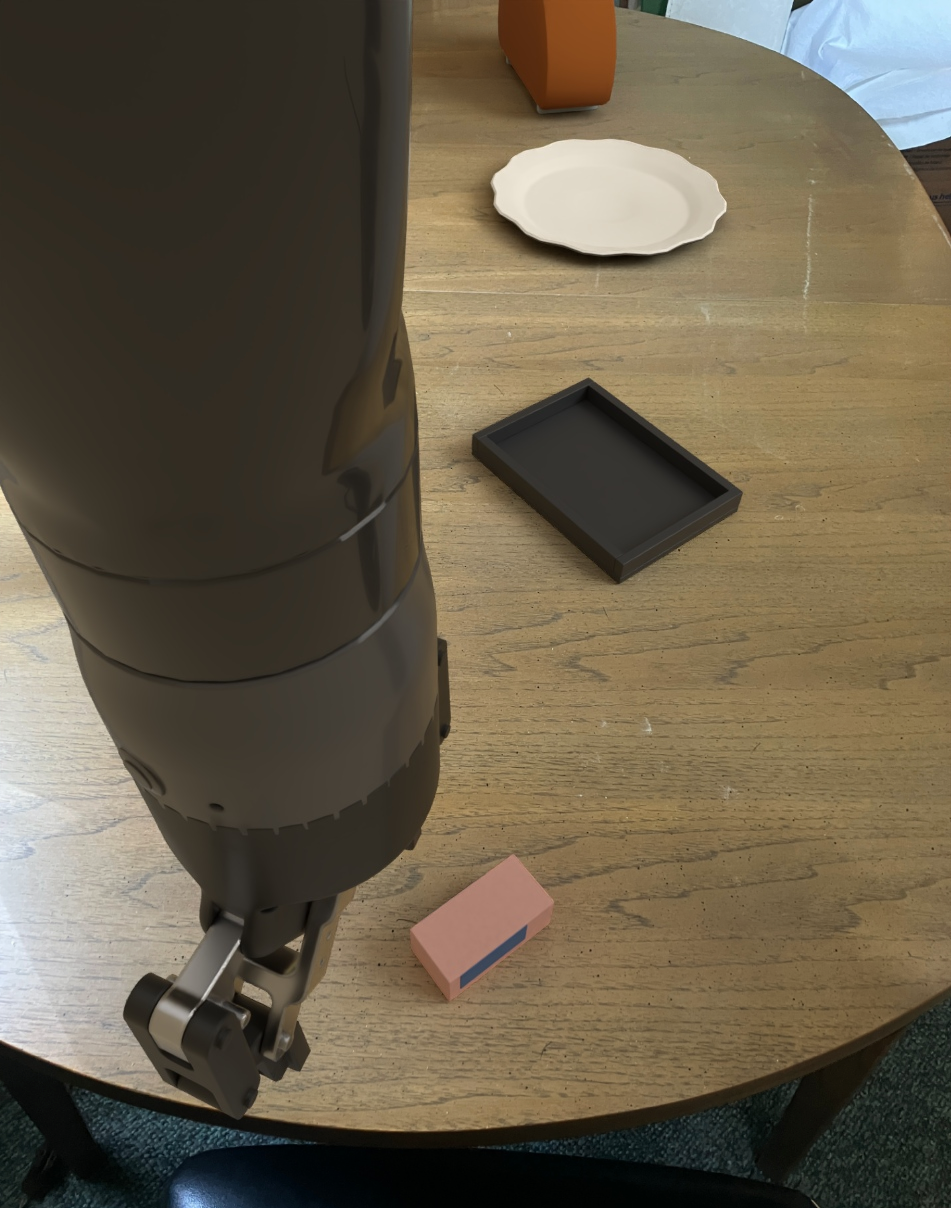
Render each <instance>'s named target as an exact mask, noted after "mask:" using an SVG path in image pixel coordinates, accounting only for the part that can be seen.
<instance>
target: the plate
mask: <svg viewBox="0 0 951 1208" xmlns="http://www.w3.org/2000/svg"><path fill="white" fill-rule="evenodd" d="M489 185H490V188H491V189H492V192H493V196H494V198H493V208H494V209H495V211H496V213H497V214H498V215H499V216H500V217H502V218H503V219H505V220H507V221H508V222H510V223H511V224H513V225H515V226H516V228H518V230H520V232H521V233H523V235H525V236H526V237H528V238H530V239H532V240H534V241H537V242H539V243H540V244H545V245H550V246H556V247H559V248H565V249H567V250H570V251H573V252H576V253H578V254H580V255H585V256H591V257H593V256H594V257H601V258H607V257H617V256H636V257H652V256H658V255H664V254H668V253H670V252H673V251H674V250H675V249H678V248H679V247H682V246H686V245H689V244H693V243H697V242H701V241H703V240H704V239H706V238H707V237H709V236H710V235H712V234H713V233H714V230H715V226H716V224H717V222H718V221H719V220H720V219H721V218H722V217H723V216H724V215H725V214H726V213H727V203H728V202H727V201H726V200H725V198H724V197H723V195H722V194H721V192H720V190H719V185H718V180H717V179H716V178H715V177H714V176H712V175H711V174H710V173H709V172H708V170H705V169H704V168H703V169H702V168H700V167H698V166H696V165H694V164H693V163H691V162H689V161H688V160H687V159H686V158H685V157H683V156H682V155H680V154H678V153H676V152H672V151H670V150H668V149H665V148H658V147H652V146H646V145H643V144H640V143H636V142H633V141H630V140H626V139H625V140H623V139H617V138H616V139H615V138H606V139H604V138H603V139H577V138H575V139H574V138H570V139H564V140H557V141H554V142H552V143H551V142H550V143H549V144H546V145H544V146H541V147H536V148H530V149H526V150H523V151H521V152H519V153H517V154H515V155H513V156H512V157H511V158H510V159H509V161H508V162H507V164H506V165H505V166H504V167H503V168H501V169H500V170H498V171H496V172H495V173H494V174H493V175H492V178H491V180H490V184H489Z"/></svg>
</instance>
